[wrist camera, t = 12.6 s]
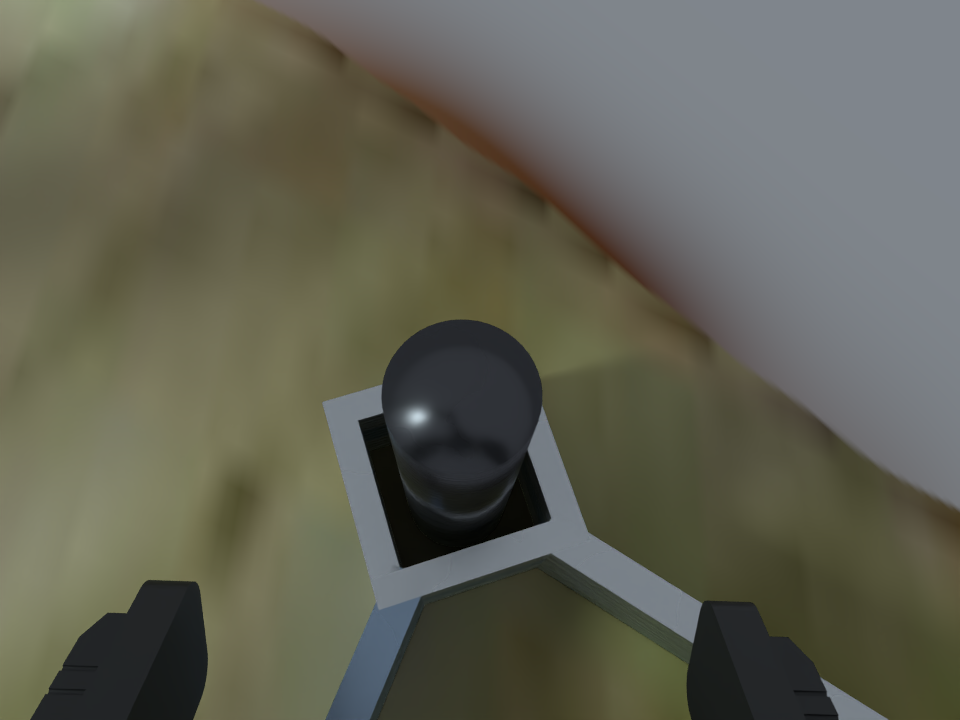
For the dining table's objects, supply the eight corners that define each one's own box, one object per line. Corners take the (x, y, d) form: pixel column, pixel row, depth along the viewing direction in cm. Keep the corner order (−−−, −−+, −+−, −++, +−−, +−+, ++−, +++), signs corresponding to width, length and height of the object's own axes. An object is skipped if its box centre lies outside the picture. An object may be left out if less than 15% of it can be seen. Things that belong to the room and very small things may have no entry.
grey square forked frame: (113, 502, 25) (62, 478, 22) (708, 324, 28) (743, 279, 25) (213, 1057, 21) (167, 1134, 17) (911, 781, 24) (988, 802, 20)
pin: (424, 560, 25) (407, 495, 15) (396, 467, 26) (362, 344, 16) (517, 529, 26) (564, 445, 15) (487, 439, 26) (512, 301, 16)
